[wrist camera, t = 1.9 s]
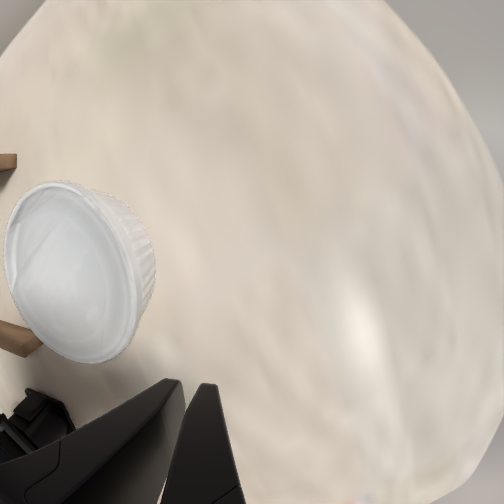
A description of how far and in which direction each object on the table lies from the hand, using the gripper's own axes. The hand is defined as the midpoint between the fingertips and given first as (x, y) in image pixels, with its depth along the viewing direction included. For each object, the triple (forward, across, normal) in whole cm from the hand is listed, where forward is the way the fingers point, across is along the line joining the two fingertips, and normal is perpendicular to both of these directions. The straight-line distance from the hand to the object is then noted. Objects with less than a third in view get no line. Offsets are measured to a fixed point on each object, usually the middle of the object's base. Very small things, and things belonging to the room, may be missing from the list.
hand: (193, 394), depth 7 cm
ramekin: (+12, +10, 0) cm, 16 cm away
